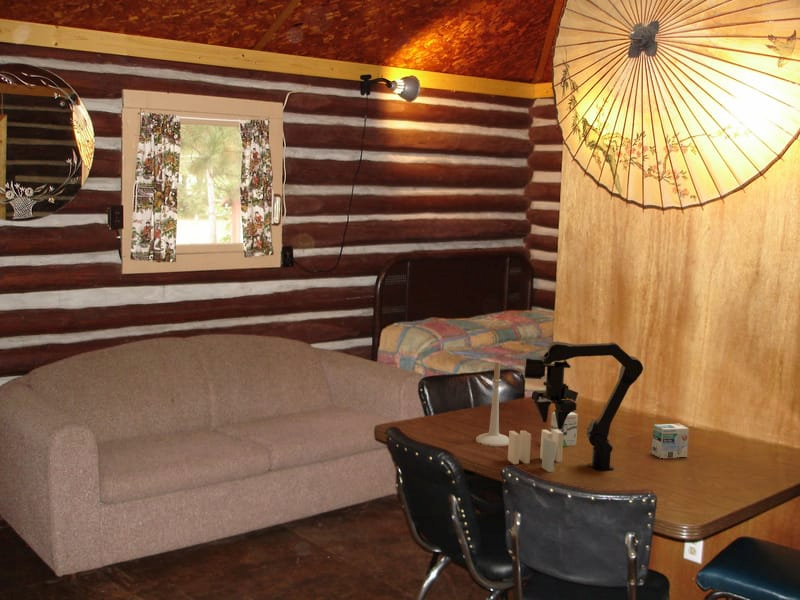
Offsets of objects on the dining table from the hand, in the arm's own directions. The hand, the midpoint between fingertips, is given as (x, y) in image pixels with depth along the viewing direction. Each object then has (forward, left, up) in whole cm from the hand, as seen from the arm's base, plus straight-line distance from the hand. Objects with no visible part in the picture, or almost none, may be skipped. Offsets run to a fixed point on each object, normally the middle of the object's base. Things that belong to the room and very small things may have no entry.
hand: (552, 425), depth 300 cm
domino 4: (-5, +3, -13) cm, 15 cm away
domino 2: (+5, +7, -13) cm, 16 cm away
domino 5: (+5, -5, -13) cm, 15 cm away
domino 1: (+5, +11, -13) cm, 18 cm away
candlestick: (+30, +8, -14) cm, 34 cm away
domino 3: (+5, -1, -13) cm, 14 cm away
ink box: (+22, -16, -14) cm, 30 cm away
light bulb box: (+3, -48, -14) cm, 50 cm away
